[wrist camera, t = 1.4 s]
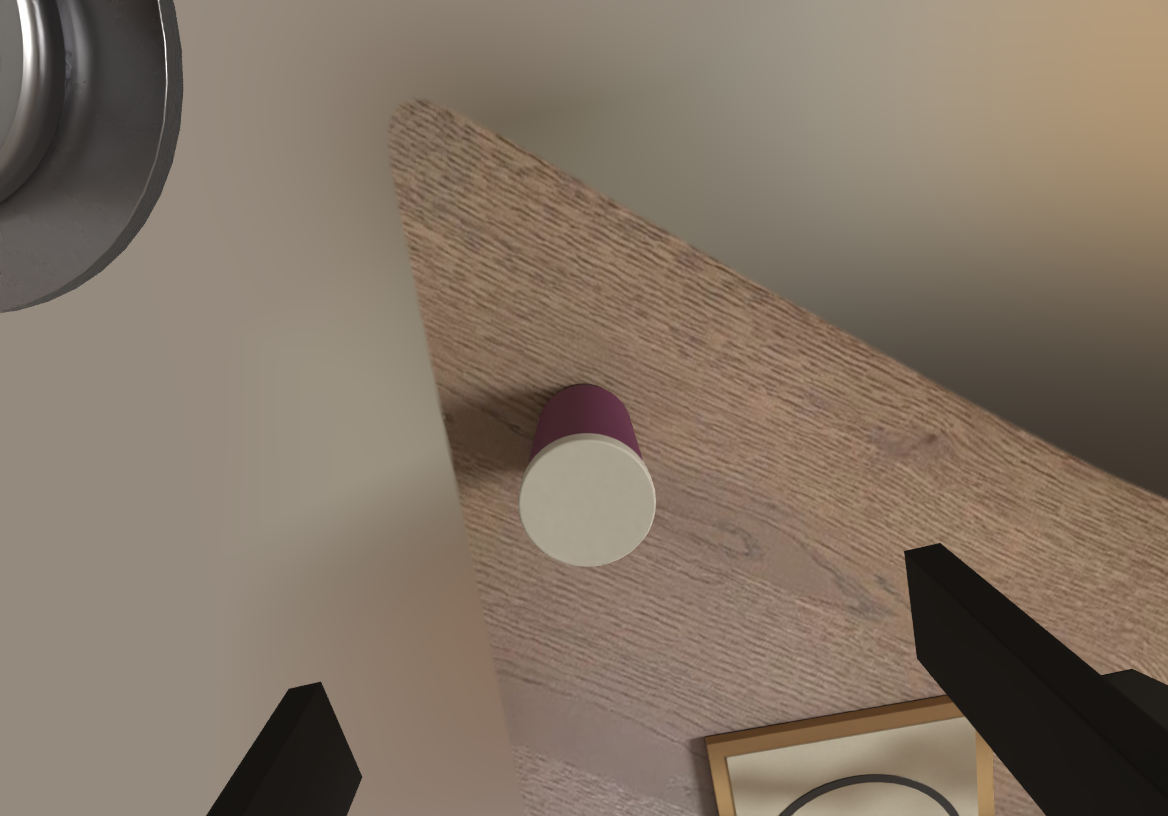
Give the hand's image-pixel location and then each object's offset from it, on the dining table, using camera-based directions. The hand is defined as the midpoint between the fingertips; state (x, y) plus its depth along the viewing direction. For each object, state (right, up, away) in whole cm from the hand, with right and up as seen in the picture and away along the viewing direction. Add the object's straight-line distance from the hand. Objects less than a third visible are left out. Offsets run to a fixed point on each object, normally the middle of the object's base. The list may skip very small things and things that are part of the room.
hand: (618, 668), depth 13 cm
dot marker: (-1, +5, +16) cm, 17 cm away
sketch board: (+16, -21, +24) cm, 35 cm away
